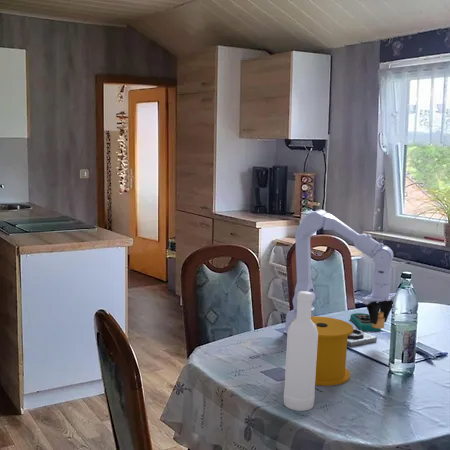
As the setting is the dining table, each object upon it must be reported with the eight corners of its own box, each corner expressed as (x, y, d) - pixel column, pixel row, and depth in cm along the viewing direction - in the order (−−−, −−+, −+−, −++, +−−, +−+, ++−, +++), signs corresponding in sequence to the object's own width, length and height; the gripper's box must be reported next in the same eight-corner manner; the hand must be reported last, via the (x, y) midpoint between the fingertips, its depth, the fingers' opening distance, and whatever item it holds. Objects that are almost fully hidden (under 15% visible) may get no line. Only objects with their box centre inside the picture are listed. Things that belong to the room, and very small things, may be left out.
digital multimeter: (367, 320, 241) (368, 312, 241) (381, 332, 227) (381, 324, 226) (349, 320, 241) (349, 312, 240) (361, 332, 226) (361, 324, 226)
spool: (352, 367, 191) (355, 319, 188) (347, 389, 173) (351, 337, 171) (293, 359, 195) (296, 312, 193) (283, 380, 178) (286, 330, 176)
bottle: (277, 403, 163) (282, 291, 158) (296, 395, 168) (302, 287, 164) (301, 414, 157) (308, 298, 153) (320, 405, 163) (327, 293, 158)
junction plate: (350, 346, 209) (351, 339, 208) (326, 336, 219) (327, 329, 218) (376, 341, 215) (377, 334, 215) (352, 331, 225) (352, 324, 225)
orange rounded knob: (378, 329, 207) (379, 314, 206) (369, 325, 210) (370, 311, 210) (386, 327, 209) (387, 313, 208) (377, 324, 213) (379, 310, 212)
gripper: (374, 287, 200) (371, 328, 202) (405, 283, 208) (402, 322, 210) (359, 283, 206) (356, 322, 208) (389, 278, 214) (386, 317, 216)
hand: (378, 322), depth 210 cm, fingers closed on orange rounded knob, 4 cm apart
